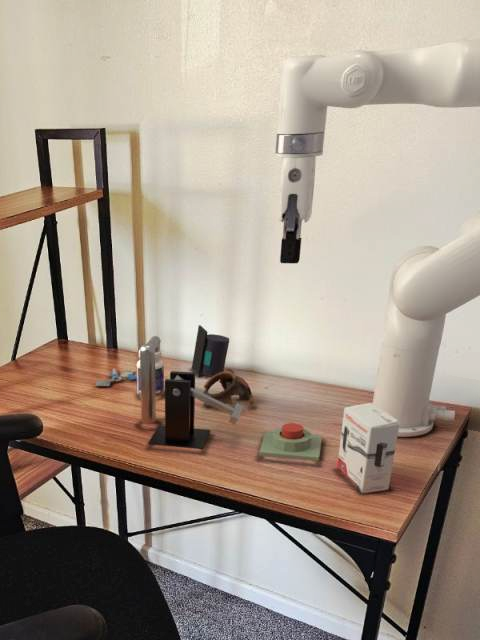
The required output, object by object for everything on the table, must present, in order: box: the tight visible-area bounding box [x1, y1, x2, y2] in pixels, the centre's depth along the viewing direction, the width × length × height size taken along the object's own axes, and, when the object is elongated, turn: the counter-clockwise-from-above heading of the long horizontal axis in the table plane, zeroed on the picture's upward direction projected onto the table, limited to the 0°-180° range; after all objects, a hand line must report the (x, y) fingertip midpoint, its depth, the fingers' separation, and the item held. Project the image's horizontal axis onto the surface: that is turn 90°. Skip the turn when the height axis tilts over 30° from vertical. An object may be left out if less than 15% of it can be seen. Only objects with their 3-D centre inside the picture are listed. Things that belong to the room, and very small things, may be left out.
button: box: [281, 422, 304, 440], centre depth 124 cm, size 4×4×2 cm
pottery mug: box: [202, 368, 254, 407], centre depth 144 cm, size 12×10×8 cm
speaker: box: [191, 324, 230, 378], centre depth 159 cm, size 8×6×10 cm
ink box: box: [337, 402, 399, 494], centre depth 113 cm, size 8×5×12 cm, turn 11°
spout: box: [139, 335, 162, 425], centre depth 136 cm, size 4×9×16 cm, turn 162°
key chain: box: [94, 368, 137, 387], centre depth 161 cm, size 14×8×1 cm, turn 118°
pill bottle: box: [136, 349, 165, 397], centre depth 149 cm, size 6×6×10 cm
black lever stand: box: [148, 370, 212, 450], centre depth 128 cm, size 10×8×13 cm
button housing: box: [258, 426, 323, 462], centre depth 125 cm, size 10×9×4 cm
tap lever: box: [174, 375, 244, 426], centre depth 126 cm, size 13×6×2 cm, turn 71°
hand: (289, 262), depth 125 cm, fingers closed
